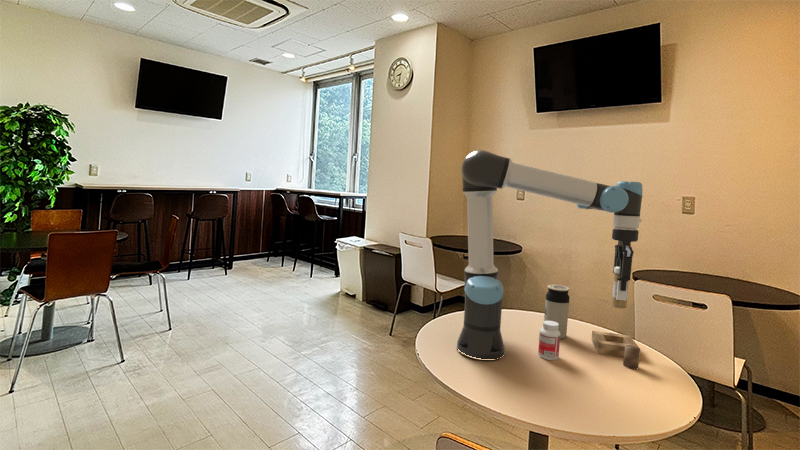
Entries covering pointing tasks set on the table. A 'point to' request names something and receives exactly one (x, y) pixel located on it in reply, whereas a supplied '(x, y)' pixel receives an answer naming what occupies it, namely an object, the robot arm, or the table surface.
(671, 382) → the table surface
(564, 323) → the travel mug
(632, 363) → the walnut stub
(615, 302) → the sprinkles bottle
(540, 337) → the pill bottle
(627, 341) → the oak collar
